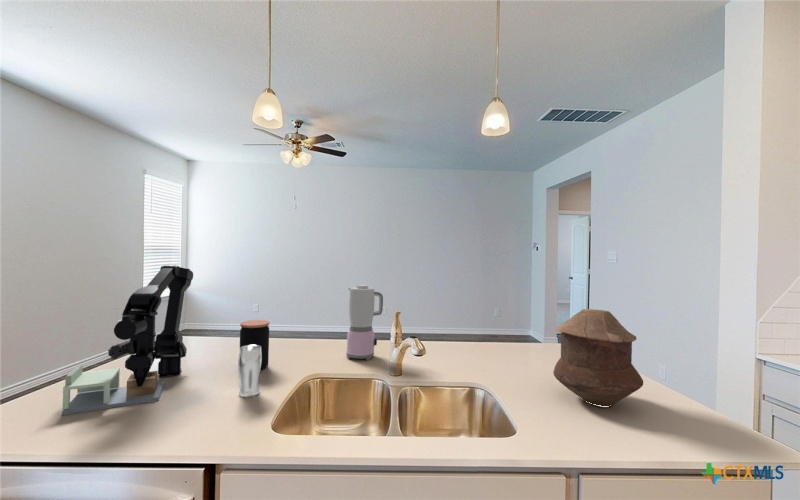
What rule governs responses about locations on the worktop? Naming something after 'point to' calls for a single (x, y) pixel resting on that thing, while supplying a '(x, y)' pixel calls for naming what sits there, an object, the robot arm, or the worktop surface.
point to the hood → (90, 382)
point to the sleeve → (146, 388)
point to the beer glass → (249, 369)
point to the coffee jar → (256, 337)
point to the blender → (362, 322)
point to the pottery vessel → (597, 358)
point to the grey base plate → (117, 398)
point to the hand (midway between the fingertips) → (142, 381)
